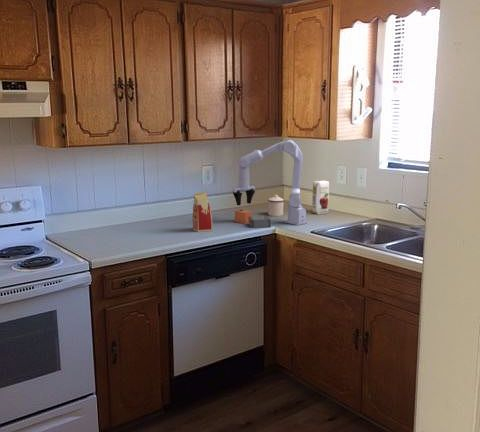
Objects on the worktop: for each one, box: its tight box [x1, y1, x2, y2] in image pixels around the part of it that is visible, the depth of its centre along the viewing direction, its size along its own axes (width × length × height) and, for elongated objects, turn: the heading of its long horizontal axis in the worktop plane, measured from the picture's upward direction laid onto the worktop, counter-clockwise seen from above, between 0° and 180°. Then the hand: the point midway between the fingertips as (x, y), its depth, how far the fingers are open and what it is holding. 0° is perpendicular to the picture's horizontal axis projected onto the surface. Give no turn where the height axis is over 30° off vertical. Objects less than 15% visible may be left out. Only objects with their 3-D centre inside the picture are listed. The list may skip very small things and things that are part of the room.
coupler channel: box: [247, 215, 271, 229], centre depth 277 cm, size 10×10×4 cm
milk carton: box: [192, 189, 213, 233], centre depth 266 cm, size 9×9×20 cm
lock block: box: [234, 209, 253, 225], centre depth 286 cm, size 8×5×6 cm, turn 43°
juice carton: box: [311, 179, 330, 216], centre depth 309 cm, size 8×9×19 cm
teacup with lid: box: [267, 194, 285, 217], centre depth 306 cm, size 12×9×12 cm
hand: (243, 204), depth 286 cm, fingers open, 7 cm apart
